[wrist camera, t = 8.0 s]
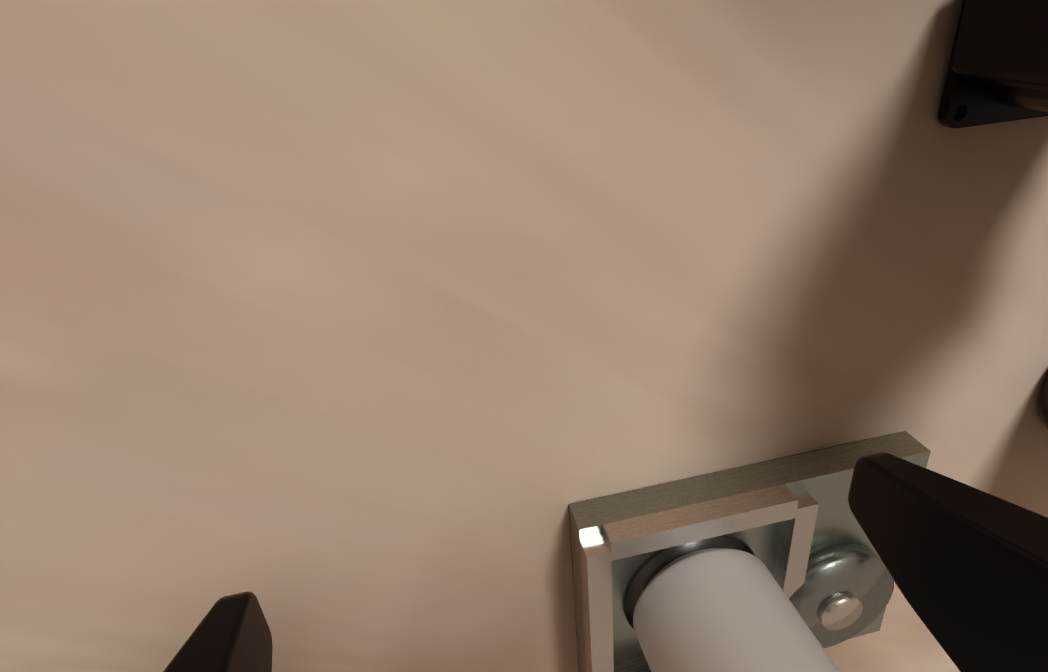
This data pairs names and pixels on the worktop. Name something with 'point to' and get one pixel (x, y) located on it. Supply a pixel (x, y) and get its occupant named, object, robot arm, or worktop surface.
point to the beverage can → (723, 619)
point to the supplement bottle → (1044, 402)
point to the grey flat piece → (734, 545)
